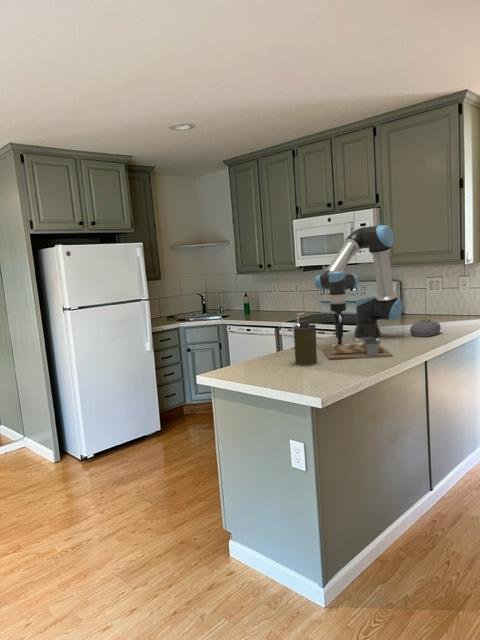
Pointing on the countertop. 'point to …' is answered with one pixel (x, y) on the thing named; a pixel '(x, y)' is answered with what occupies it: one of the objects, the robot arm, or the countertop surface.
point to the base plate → (353, 355)
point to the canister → (305, 343)
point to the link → (352, 348)
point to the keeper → (370, 346)
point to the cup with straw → (298, 321)
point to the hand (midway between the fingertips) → (339, 349)
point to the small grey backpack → (425, 328)
